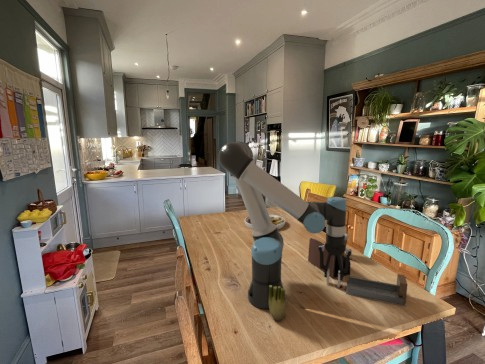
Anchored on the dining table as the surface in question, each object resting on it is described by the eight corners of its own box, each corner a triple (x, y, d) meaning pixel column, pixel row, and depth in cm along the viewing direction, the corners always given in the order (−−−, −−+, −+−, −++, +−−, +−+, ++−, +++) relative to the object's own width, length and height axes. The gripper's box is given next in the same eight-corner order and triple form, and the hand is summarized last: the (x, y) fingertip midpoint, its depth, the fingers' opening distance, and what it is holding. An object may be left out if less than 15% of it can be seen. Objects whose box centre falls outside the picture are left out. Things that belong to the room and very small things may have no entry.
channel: (406, 307, 97) (408, 286, 96) (346, 295, 105) (347, 275, 104) (401, 293, 106) (403, 273, 105) (346, 282, 114) (348, 264, 113)
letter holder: (332, 280, 116) (334, 251, 114) (307, 261, 135) (308, 235, 133) (350, 276, 120) (352, 247, 117) (323, 258, 138) (324, 233, 136)
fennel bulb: (266, 315, 94) (266, 285, 92) (276, 310, 97) (277, 280, 95) (277, 324, 89) (278, 292, 87) (288, 318, 92) (288, 288, 90)
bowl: (263, 217, 212) (263, 208, 211) (293, 226, 190) (293, 215, 189) (236, 226, 192) (236, 215, 191) (266, 236, 170) (266, 225, 169)
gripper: (357, 233, 108) (354, 284, 112) (316, 228, 115) (314, 277, 119) (357, 239, 101) (354, 294, 105) (313, 234, 108) (312, 285, 112)
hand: (333, 285), depth 112 cm, fingers open, 4 cm apart
